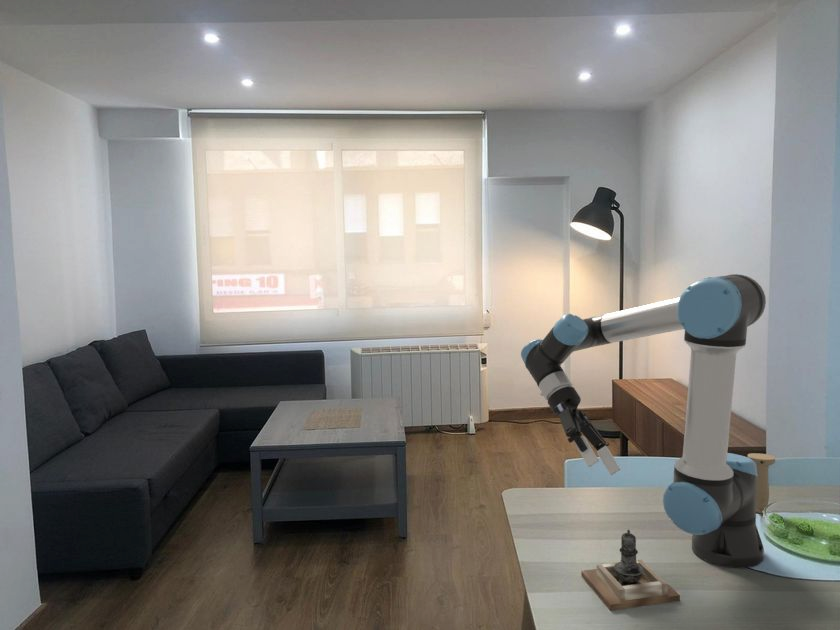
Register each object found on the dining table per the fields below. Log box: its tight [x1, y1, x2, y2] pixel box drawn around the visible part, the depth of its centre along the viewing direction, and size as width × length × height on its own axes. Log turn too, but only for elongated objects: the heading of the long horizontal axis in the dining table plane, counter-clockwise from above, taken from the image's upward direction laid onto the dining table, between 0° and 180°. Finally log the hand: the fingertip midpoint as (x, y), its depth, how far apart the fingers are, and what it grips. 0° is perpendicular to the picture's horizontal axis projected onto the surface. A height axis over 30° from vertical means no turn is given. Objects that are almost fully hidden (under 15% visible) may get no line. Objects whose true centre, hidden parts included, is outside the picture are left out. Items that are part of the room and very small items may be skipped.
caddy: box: [580, 559, 681, 612], centre depth 140 cm, size 15×14×4 cm
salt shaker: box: [614, 529, 643, 586], centre depth 139 cm, size 6×6×12 cm
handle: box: [747, 452, 776, 514], centre depth 174 cm, size 5×6×15 cm
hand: (605, 468), depth 153 cm, fingers open, 13 cm apart
